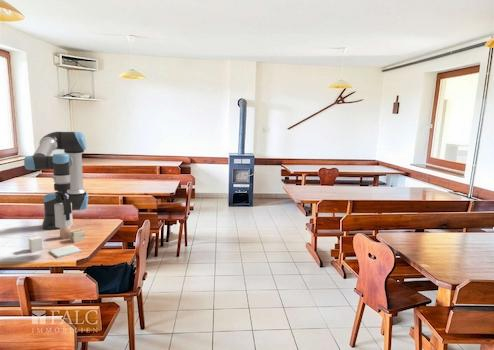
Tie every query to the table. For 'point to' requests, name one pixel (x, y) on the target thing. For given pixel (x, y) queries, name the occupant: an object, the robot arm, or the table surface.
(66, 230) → the terracotta cylinder
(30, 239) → the offwhite box
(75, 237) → the birch block
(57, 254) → the mat
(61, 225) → the cup
